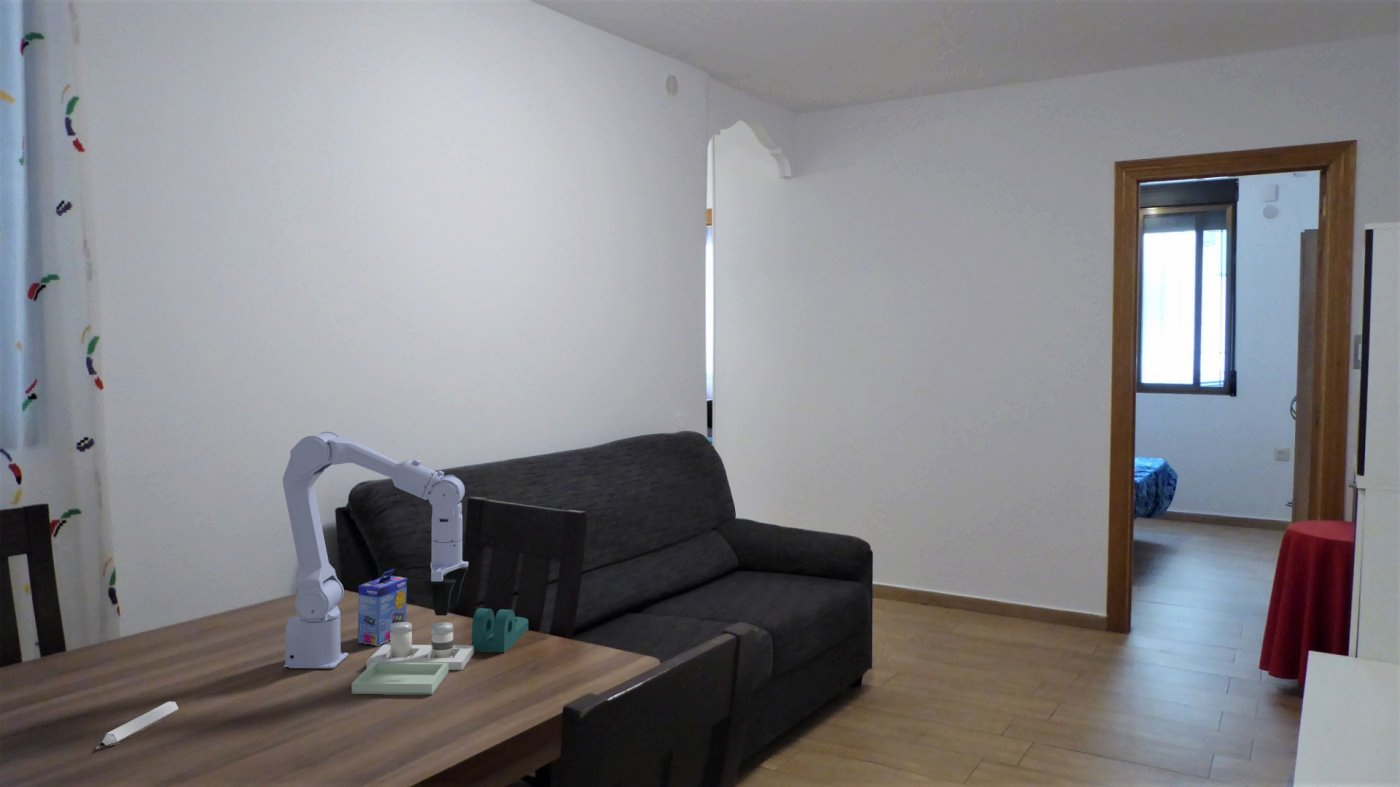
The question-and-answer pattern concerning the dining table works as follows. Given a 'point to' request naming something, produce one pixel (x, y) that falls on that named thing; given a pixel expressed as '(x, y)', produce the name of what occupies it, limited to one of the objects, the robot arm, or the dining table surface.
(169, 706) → the marker
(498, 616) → the bracket
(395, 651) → the cylinder
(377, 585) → the ink cartridge box
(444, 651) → the cylinder
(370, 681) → the parts tray
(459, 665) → the fuse holder
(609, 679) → the dining table surface
